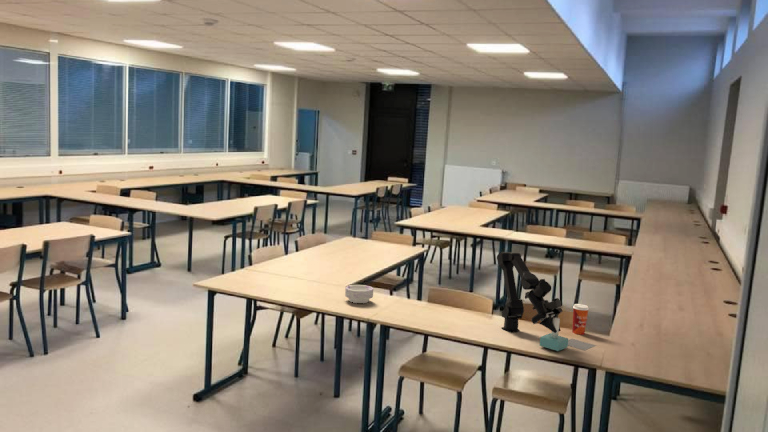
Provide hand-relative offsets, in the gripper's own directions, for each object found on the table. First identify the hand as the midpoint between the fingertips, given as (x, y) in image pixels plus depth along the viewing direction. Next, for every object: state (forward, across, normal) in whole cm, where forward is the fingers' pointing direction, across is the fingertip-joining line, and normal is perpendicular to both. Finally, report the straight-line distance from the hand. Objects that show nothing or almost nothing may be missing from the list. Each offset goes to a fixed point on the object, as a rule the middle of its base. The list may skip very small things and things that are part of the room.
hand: (557, 331), depth 274 cm
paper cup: (+2, +33, +10) cm, 35 cm away
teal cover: (+4, 0, +6) cm, 7 cm away
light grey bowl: (-70, -19, +83) cm, 110 cm away
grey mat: (+8, +15, +4) cm, 18 cm away
